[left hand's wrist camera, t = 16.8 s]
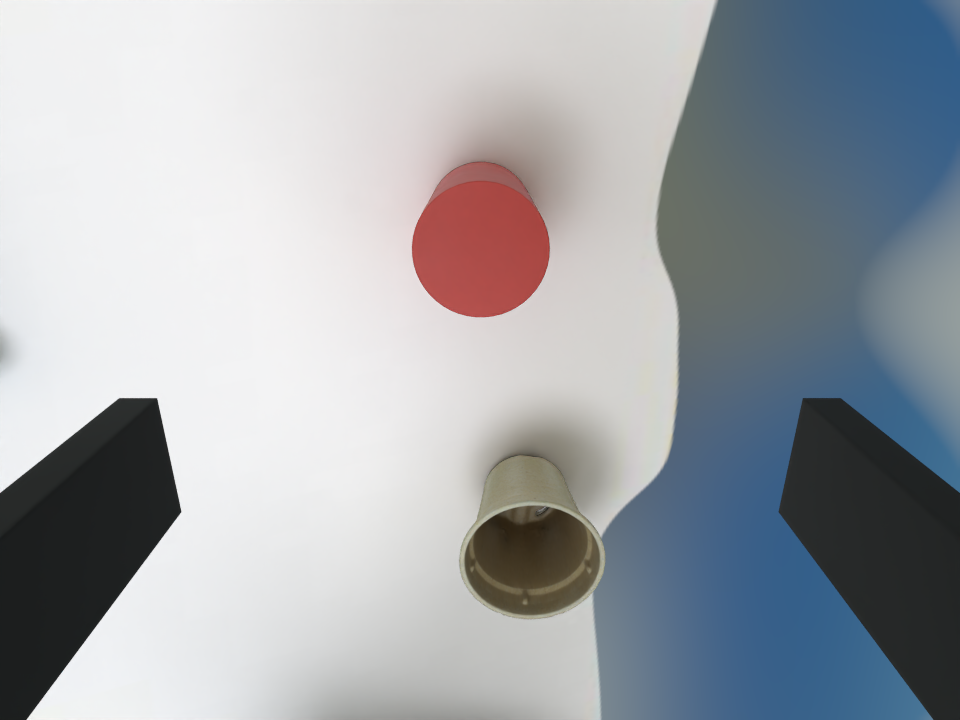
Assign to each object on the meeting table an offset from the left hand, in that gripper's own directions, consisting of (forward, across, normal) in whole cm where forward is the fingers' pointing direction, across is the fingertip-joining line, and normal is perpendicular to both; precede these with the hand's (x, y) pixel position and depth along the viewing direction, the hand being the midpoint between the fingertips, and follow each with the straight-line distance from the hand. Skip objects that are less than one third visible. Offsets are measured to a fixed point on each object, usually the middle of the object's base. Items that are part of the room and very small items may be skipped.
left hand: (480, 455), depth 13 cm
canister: (+30, 0, 0) cm, 30 cm away
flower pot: (+30, -3, +20) cm, 36 cm away
